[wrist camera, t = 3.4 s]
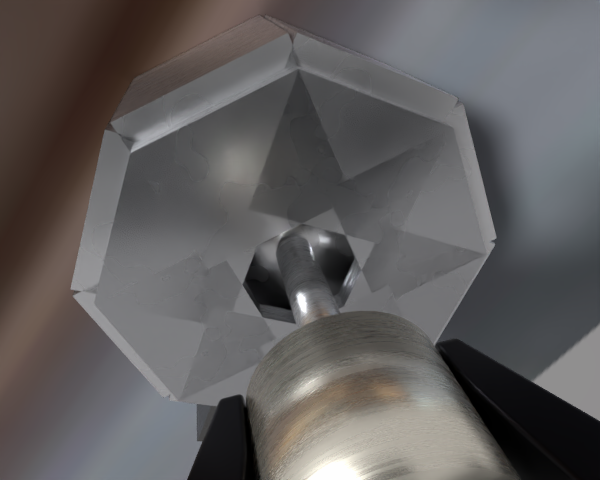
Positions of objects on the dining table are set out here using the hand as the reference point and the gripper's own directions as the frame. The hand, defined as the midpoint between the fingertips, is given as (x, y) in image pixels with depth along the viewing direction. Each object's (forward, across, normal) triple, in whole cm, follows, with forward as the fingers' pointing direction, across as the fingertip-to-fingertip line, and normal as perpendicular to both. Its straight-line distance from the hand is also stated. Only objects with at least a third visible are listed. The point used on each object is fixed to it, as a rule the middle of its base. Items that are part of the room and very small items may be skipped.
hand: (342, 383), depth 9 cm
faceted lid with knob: (+9, +1, +1) cm, 9 cm away
